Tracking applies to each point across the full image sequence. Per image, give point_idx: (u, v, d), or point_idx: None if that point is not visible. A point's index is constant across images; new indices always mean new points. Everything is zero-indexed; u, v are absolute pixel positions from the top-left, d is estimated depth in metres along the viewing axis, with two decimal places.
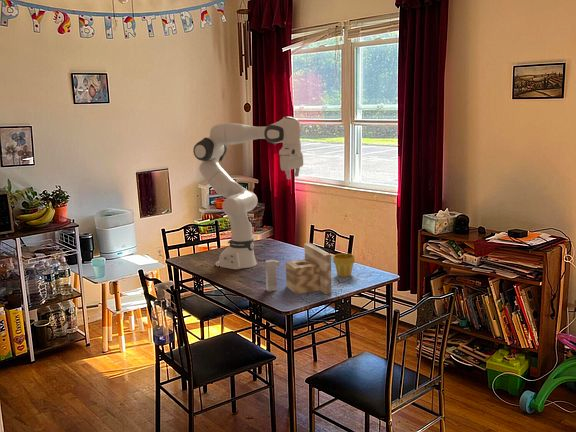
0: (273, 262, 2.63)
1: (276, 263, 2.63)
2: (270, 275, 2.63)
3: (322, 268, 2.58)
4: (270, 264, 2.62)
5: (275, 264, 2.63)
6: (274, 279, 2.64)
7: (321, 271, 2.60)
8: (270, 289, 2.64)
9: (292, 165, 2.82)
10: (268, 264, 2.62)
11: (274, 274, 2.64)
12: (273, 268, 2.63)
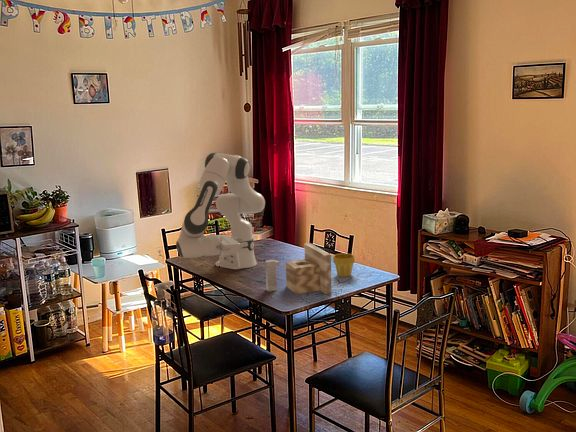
0: (273, 262, 2.63)
1: (276, 263, 2.63)
2: (270, 275, 2.63)
3: (322, 268, 2.58)
4: (270, 264, 2.62)
5: (275, 264, 2.63)
6: (274, 279, 2.64)
7: (321, 271, 2.60)
8: (270, 289, 2.64)
9: None
10: (268, 264, 2.62)
11: (274, 274, 2.64)
12: (273, 268, 2.63)
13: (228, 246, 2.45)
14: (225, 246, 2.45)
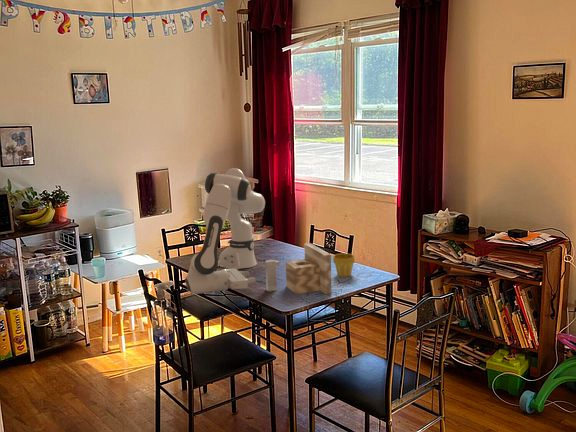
0: (273, 262, 2.63)
1: (276, 263, 2.63)
2: (270, 275, 2.63)
3: (322, 268, 2.58)
4: (270, 264, 2.62)
5: (275, 264, 2.63)
6: (274, 279, 2.64)
7: (321, 271, 2.60)
8: (270, 289, 2.64)
9: None
10: (268, 264, 2.62)
11: (274, 274, 2.64)
12: (273, 268, 2.63)
13: (236, 283, 2.50)
14: (233, 283, 2.49)
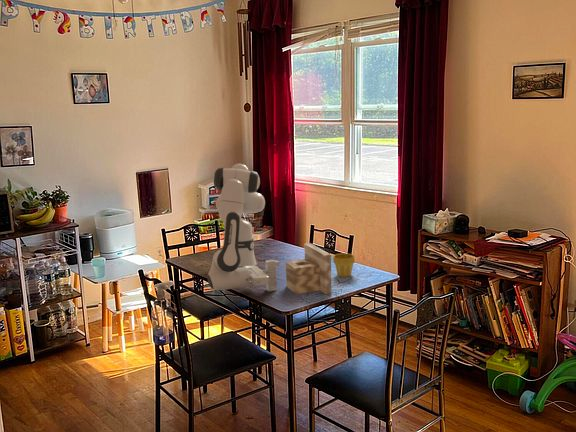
0: (273, 262, 2.63)
1: (276, 263, 2.63)
2: None
3: (322, 268, 2.58)
4: (270, 264, 2.62)
5: (275, 264, 2.63)
6: (274, 279, 2.64)
7: (321, 271, 2.60)
8: (270, 289, 2.64)
9: None
10: (268, 264, 2.62)
11: None
12: (273, 268, 2.63)
13: (258, 279, 2.53)
14: (255, 279, 2.53)
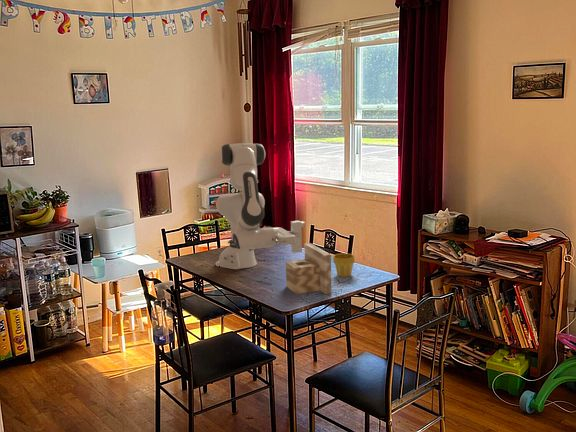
0: (299, 223, 2.60)
1: (302, 224, 2.60)
2: None
3: (322, 268, 2.58)
4: (296, 225, 2.59)
5: (301, 225, 2.60)
6: (300, 240, 2.61)
7: (321, 271, 2.60)
8: (296, 250, 2.61)
9: None
10: (294, 224, 2.59)
11: None
12: (299, 229, 2.60)
13: (284, 238, 2.50)
14: (281, 238, 2.50)
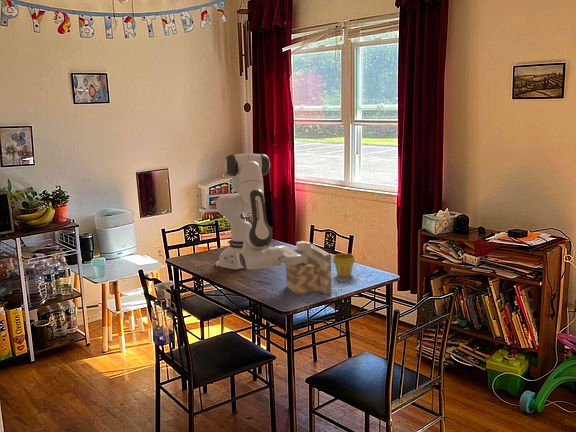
0: (304, 243, 2.62)
1: (307, 244, 2.63)
2: None
3: (322, 268, 2.58)
4: (301, 245, 2.62)
5: (306, 245, 2.63)
6: (305, 260, 2.64)
7: (321, 271, 2.60)
8: None
9: None
10: (299, 245, 2.61)
11: None
12: (304, 249, 2.63)
13: (291, 258, 2.52)
14: (288, 258, 2.52)
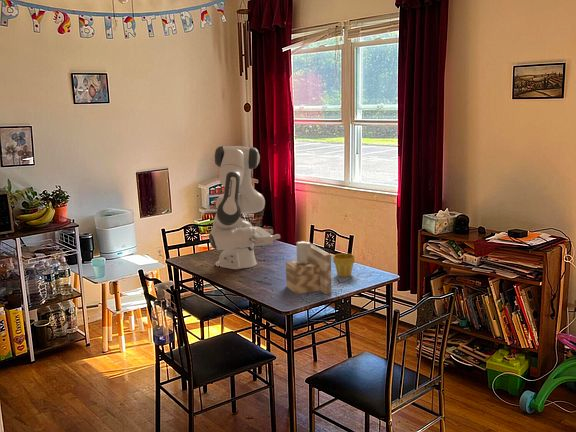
0: (305, 243, 2.62)
1: (307, 244, 2.63)
2: (301, 256, 2.62)
3: (322, 268, 2.58)
4: (302, 245, 2.62)
5: (306, 245, 2.62)
6: (305, 261, 2.64)
7: (321, 271, 2.60)
8: None
9: None
10: (300, 245, 2.61)
11: (305, 256, 2.63)
12: (304, 249, 2.62)
13: (261, 238, 2.45)
14: (258, 238, 2.45)
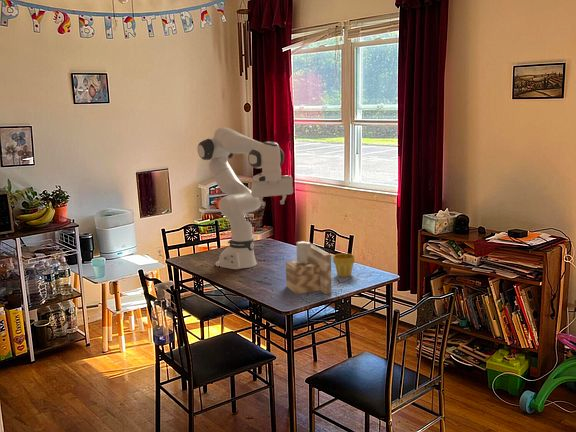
0: (305, 243, 2.62)
1: (307, 244, 2.63)
2: (301, 256, 2.62)
3: (322, 268, 2.58)
4: (302, 245, 2.62)
5: (306, 245, 2.62)
6: (305, 261, 2.64)
7: (321, 271, 2.60)
8: None
9: (266, 192, 2.70)
10: (300, 245, 2.61)
11: (305, 256, 2.63)
12: (304, 249, 2.62)
13: None
14: None
